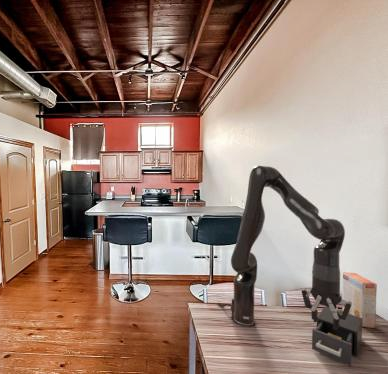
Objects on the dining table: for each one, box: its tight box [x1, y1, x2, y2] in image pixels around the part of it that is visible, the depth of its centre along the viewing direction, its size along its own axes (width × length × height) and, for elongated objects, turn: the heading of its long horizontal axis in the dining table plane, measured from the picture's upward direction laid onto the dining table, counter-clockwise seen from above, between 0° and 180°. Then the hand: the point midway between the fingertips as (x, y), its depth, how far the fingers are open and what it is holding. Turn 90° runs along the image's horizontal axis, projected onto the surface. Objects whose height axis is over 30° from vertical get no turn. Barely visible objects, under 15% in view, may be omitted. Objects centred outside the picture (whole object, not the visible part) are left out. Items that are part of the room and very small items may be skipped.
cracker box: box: [341, 271, 378, 329], centre depth 114 cm, size 14×6×21 cm, turn 168°
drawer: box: [311, 321, 354, 367], centre depth 90 cm, size 18×11×8 cm, turn 130°
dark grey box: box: [316, 305, 363, 357], centre depth 99 cm, size 15×13×10 cm
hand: (324, 324), depth 81 cm, fingers open, 4 cm apart
